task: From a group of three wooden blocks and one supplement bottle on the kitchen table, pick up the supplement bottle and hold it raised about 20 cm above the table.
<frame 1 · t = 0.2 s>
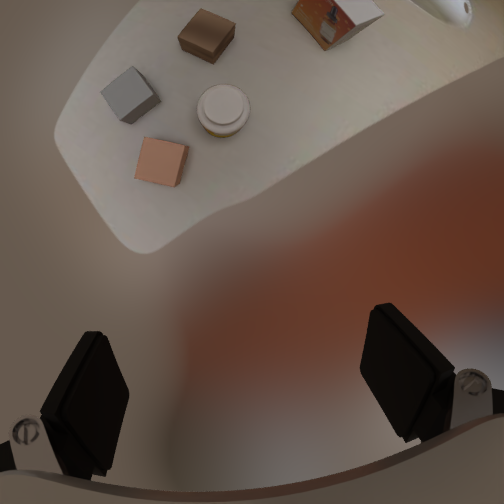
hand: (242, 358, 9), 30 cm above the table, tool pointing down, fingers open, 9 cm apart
walnut block: (207, 43, 30), on the table
small box: (321, 25, 30), on the table
supplement bottle: (222, 118, 34), on the table
slate block: (137, 99, 32), on the table
terracotta block: (166, 160, 35), on the table
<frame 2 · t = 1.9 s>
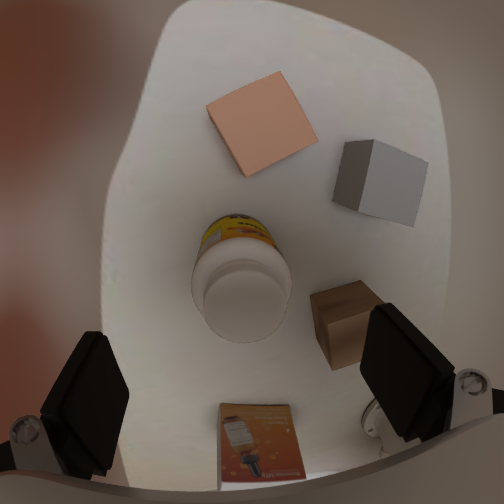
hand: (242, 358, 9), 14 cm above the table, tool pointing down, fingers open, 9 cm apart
walnut block: (338, 310, 26), on the table
small box: (251, 417, 30), on the table
supplement bottle: (236, 246, 23), on the table
slate block: (364, 179, 22), on the table
terracotta block: (255, 130, 20), on the table
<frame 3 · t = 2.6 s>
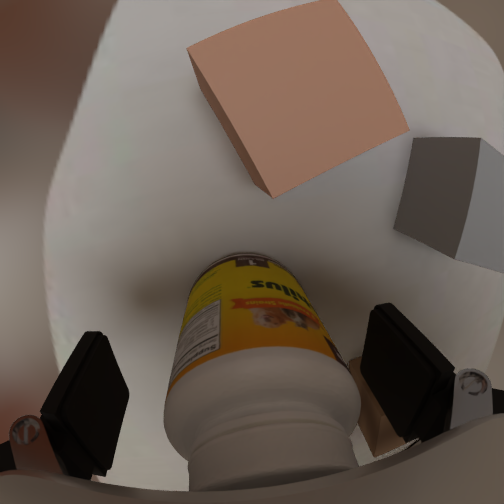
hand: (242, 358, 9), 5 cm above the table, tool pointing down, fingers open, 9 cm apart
walnut block: (382, 373, 17), on the table
supplement bottle: (244, 300, 14), on the table
slate block: (435, 195, 13), on the table
terracotta block: (277, 110, 12), on the table
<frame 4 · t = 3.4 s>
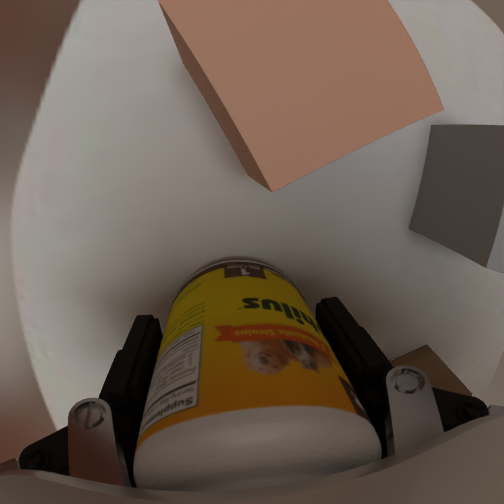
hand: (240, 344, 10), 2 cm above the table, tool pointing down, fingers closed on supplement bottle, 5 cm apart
walnut block: (389, 385, 15), on the table
supplement bottle: (237, 313, 12), on the table, touching gripper
slate block: (454, 190, 11), on the table
terracotta block: (275, 87, 9), on the table
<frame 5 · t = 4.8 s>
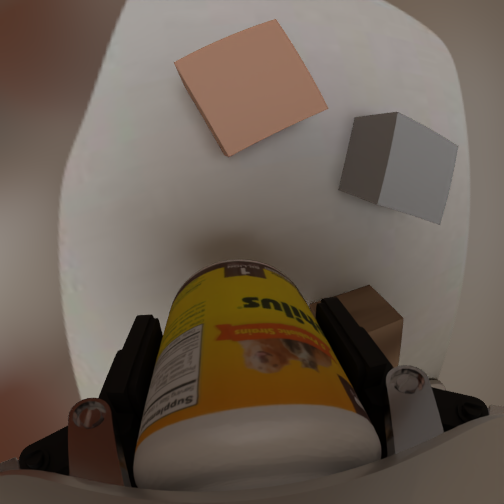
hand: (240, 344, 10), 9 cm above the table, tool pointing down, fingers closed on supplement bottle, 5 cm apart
walnut block: (342, 320, 22), on the table
supplement bottle: (236, 312, 12), point 7 cm above the table, touching gripper
slate block: (377, 163, 18), on the table
terracotta block: (241, 100, 15), on the table
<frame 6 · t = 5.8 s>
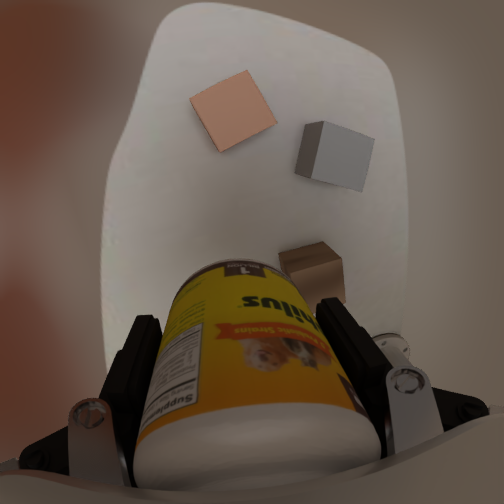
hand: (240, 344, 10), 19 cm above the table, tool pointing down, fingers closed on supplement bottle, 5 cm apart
walnut block: (304, 268, 31), on the table
supplement bottle: (236, 312, 12), point 17 cm above the table, touching gripper
slate block: (322, 154, 27), on the table
terracotta block: (229, 116, 24), on the table
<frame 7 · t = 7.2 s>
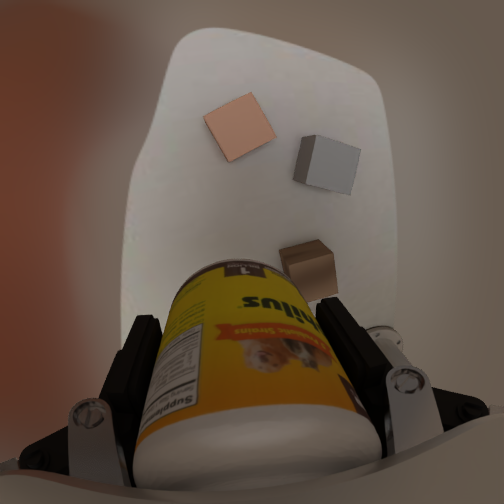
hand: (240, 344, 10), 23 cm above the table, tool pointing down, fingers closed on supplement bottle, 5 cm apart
walnut block: (302, 263, 35), on the table
supplement bottle: (236, 312, 12), point 21 cm above the table, touching gripper
slate block: (317, 163, 31), on the table
terracotta block: (236, 130, 29), on the table
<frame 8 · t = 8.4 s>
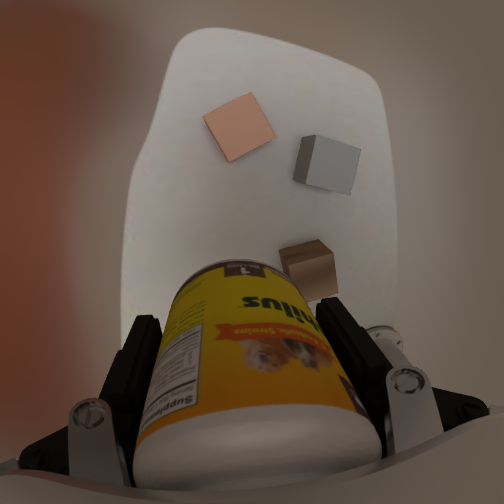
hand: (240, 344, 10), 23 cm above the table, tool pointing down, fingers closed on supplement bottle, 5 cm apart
walnut block: (302, 263, 35), on the table
supplement bottle: (236, 312, 12), point 21 cm above the table, touching gripper
slate block: (317, 163, 31), on the table
terracotta block: (236, 130, 29), on the table
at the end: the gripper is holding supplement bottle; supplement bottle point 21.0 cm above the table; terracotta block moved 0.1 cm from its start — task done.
